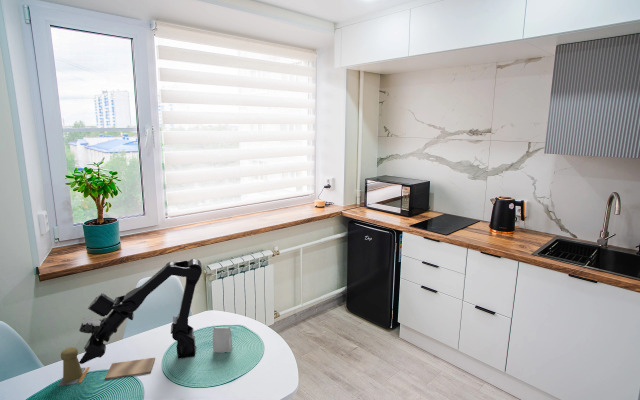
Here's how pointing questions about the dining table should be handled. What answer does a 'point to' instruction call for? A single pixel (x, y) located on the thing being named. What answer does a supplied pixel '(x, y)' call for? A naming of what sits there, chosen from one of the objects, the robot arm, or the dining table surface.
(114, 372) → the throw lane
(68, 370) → the cork
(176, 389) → the dining table surface
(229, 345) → the grey rectangular block
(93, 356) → the robot arm
